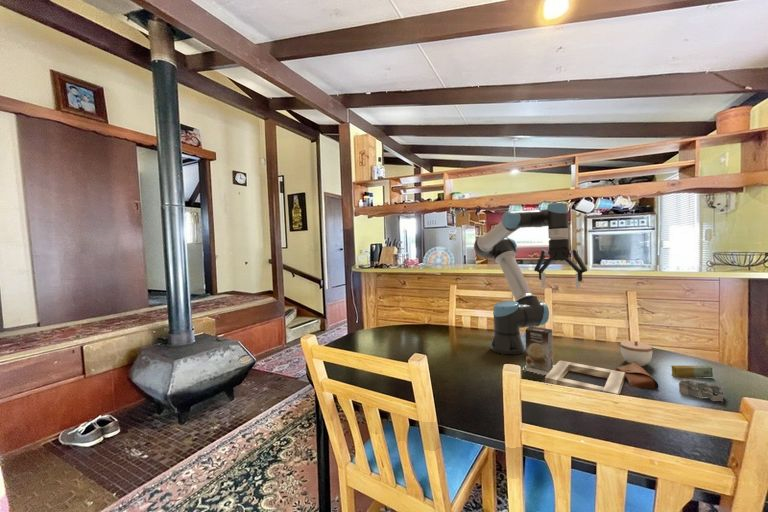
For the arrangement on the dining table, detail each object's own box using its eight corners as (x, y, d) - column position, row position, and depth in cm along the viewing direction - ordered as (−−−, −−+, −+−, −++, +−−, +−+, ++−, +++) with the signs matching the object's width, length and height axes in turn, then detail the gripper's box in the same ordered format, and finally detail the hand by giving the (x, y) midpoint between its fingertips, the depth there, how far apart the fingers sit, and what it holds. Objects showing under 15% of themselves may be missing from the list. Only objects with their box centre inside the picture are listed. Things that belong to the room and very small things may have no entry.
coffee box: (525, 367, 134) (524, 329, 134) (530, 362, 139) (529, 325, 138) (549, 372, 128) (547, 332, 128) (553, 367, 133) (552, 328, 132)
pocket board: (545, 383, 120) (544, 377, 120) (559, 366, 135) (559, 360, 135) (617, 401, 105) (617, 393, 105) (624, 378, 121) (624, 372, 120)
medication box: (707, 375, 120) (707, 365, 120) (713, 378, 118) (713, 367, 118) (671, 375, 122) (670, 364, 122) (676, 378, 120) (676, 367, 120)
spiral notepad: (521, 370, 133) (521, 369, 133) (531, 361, 142) (531, 360, 142) (548, 376, 126) (547, 374, 126) (556, 366, 135) (556, 365, 135)
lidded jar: (659, 368, 128) (658, 345, 128) (628, 367, 130) (628, 344, 130) (643, 358, 139) (643, 337, 138) (615, 358, 141) (615, 337, 140)
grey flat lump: (677, 393, 108) (676, 382, 108) (681, 386, 113) (680, 375, 113) (722, 405, 100) (722, 392, 100) (725, 396, 105) (725, 384, 105)
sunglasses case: (612, 367, 131) (622, 354, 130) (630, 377, 129) (640, 364, 128) (630, 386, 114) (641, 371, 113) (651, 398, 112) (662, 383, 111)
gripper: (525, 240, 144) (527, 287, 145) (589, 237, 126) (591, 291, 127) (532, 240, 149) (534, 285, 150) (594, 237, 131) (596, 288, 132)
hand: (560, 288), depth 138 cm, fingers open, 13 cm apart
